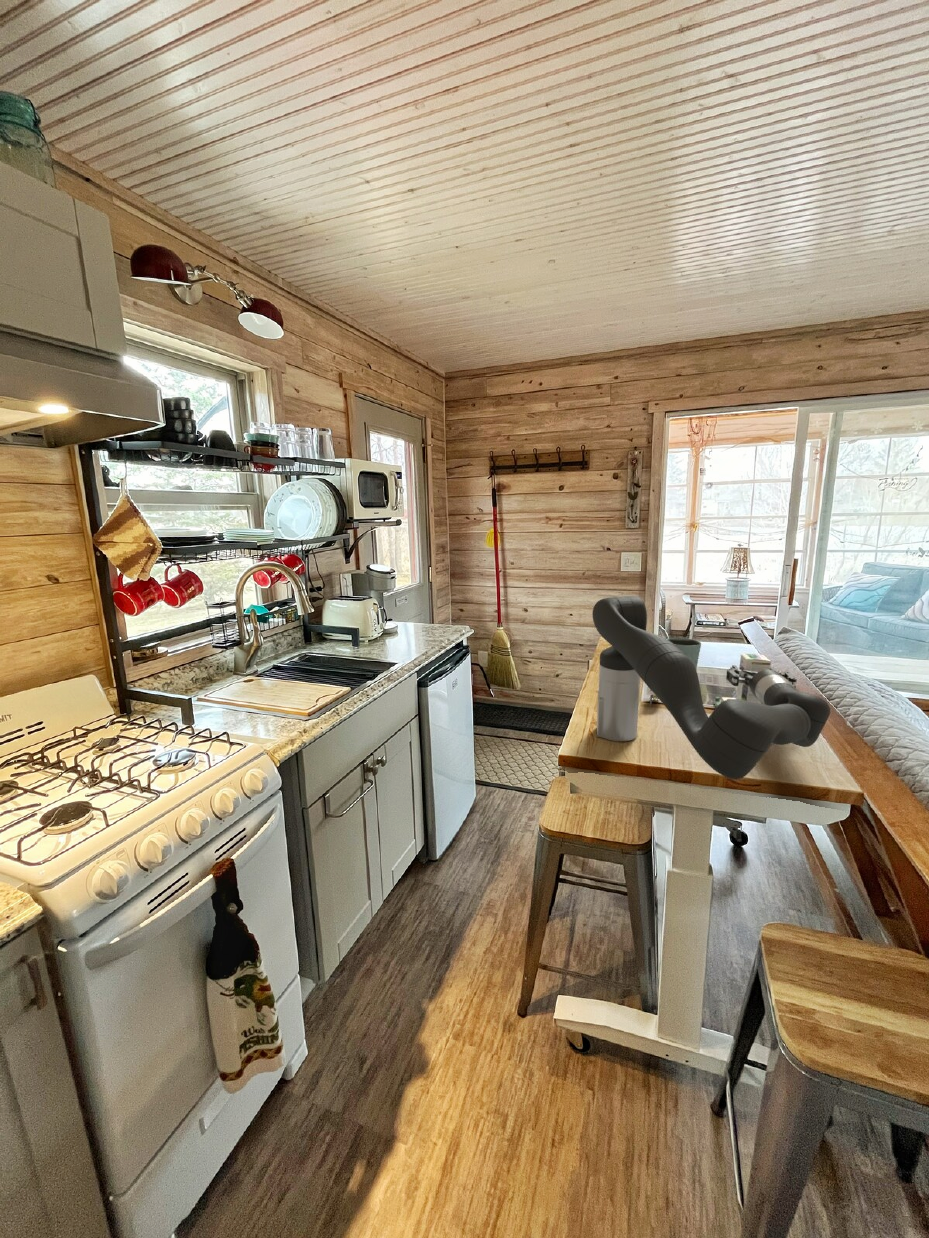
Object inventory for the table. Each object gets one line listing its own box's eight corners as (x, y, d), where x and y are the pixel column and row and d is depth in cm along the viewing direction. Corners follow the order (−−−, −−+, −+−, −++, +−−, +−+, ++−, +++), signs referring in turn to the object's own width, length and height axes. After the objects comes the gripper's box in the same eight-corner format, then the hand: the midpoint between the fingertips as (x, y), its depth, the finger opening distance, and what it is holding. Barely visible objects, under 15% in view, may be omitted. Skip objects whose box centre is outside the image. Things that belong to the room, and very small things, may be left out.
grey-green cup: (657, 678, 165) (659, 641, 162) (672, 671, 172) (675, 635, 169) (689, 685, 158) (692, 647, 155) (703, 678, 164) (706, 641, 162)
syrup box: (734, 705, 138) (739, 652, 135) (758, 707, 137) (764, 653, 134) (740, 714, 133) (746, 659, 130) (766, 715, 131) (772, 660, 128)
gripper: (738, 704, 121) (720, 682, 136) (806, 708, 118) (780, 685, 133) (741, 673, 119) (722, 654, 135) (810, 676, 116) (783, 656, 132)
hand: (751, 669), depth 134 cm, fingers open, 8 cm apart
